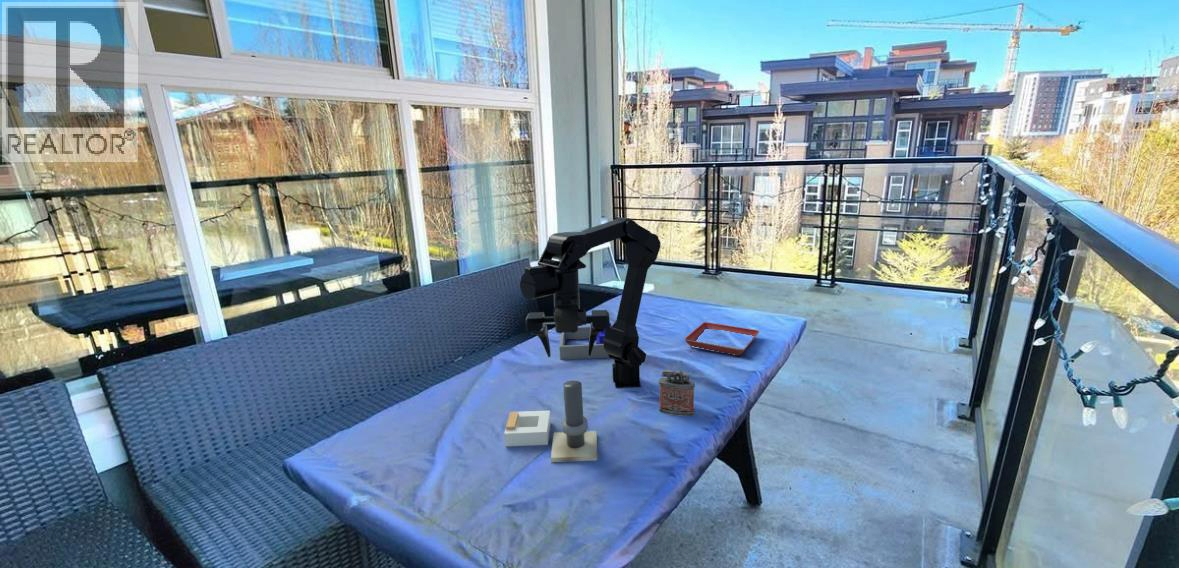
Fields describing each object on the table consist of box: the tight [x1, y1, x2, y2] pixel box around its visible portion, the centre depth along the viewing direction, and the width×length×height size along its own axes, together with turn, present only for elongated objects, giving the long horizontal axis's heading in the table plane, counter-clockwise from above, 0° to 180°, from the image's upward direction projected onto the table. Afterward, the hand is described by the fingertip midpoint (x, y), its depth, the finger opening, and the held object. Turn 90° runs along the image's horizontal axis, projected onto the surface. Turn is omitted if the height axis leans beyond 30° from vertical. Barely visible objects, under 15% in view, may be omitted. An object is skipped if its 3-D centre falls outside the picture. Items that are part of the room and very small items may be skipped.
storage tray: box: [558, 324, 613, 360], centre depth 153 cm, size 17×17×4 cm
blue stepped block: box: [595, 322, 612, 344], centre depth 153 cm, size 12×4×6 cm, turn 175°
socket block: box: [503, 410, 552, 447], centre depth 106 cm, size 9×9×4 cm
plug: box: [561, 380, 589, 448], centre depth 99 cm, size 5×5×13 cm
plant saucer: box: [684, 321, 760, 356], centre depth 152 cm, size 18×18×3 cm
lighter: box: [658, 369, 696, 417], centre depth 112 cm, size 8×3×10 cm, turn 71°
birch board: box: [550, 430, 598, 463], centre depth 101 cm, size 9×9×1 cm
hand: (569, 355), depth 114 cm, fingers open, 9 cm apart
